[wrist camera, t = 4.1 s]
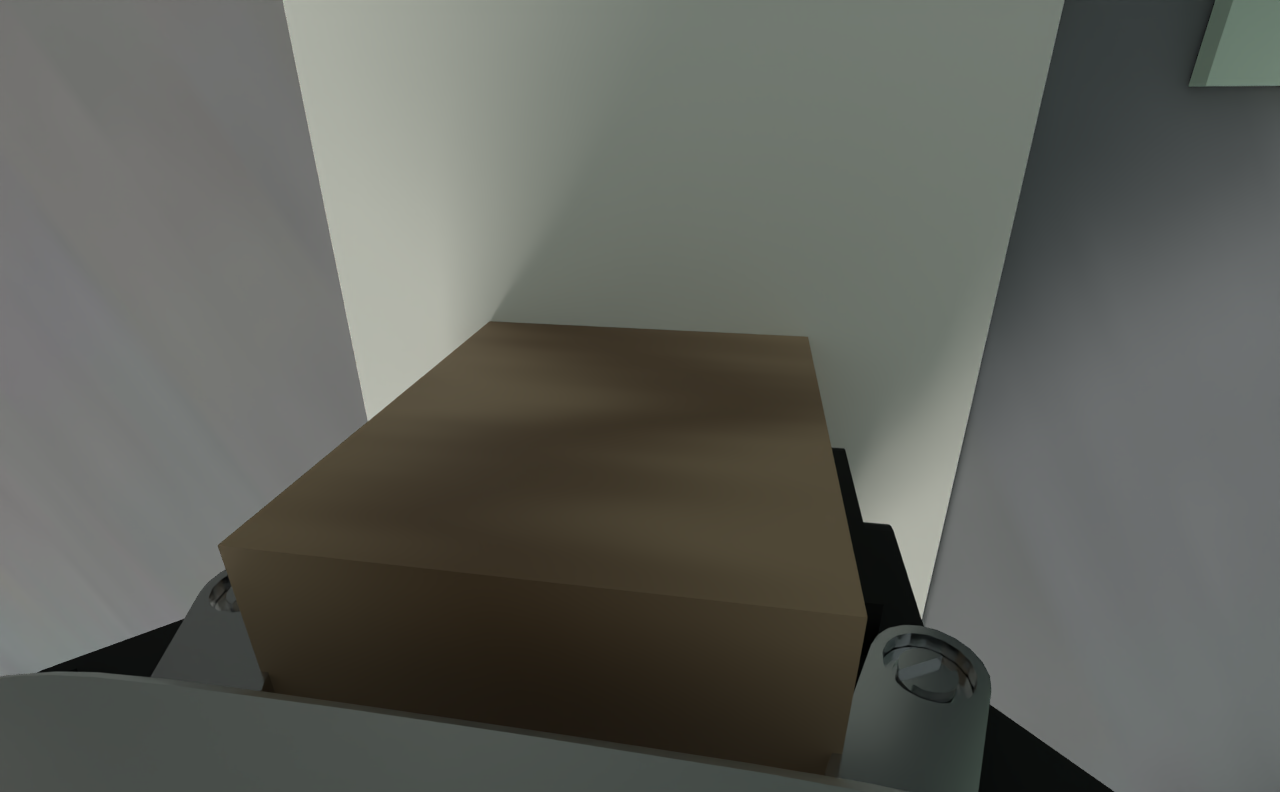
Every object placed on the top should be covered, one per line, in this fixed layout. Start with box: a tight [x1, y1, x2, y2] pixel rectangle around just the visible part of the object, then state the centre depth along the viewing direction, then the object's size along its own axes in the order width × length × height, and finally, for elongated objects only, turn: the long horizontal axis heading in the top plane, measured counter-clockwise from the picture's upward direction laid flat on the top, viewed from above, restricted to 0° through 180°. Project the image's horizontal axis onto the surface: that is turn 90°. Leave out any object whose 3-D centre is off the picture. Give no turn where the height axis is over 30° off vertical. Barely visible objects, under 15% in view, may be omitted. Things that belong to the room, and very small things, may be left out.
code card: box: [283, 0, 1065, 619], centre depth 13 cm, size 12×16×1 cm
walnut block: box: [218, 321, 868, 775], centre depth 10 cm, size 6×6×7 cm
